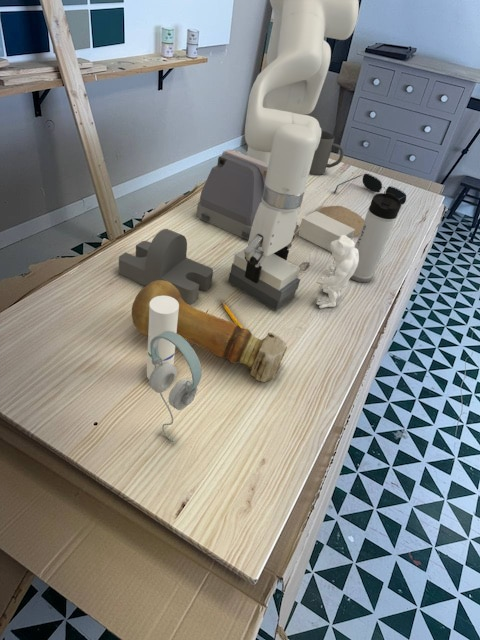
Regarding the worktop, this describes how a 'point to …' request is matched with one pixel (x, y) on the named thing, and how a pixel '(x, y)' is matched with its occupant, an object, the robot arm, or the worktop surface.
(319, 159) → the mug
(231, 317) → the pencil
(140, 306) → the stamp
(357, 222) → the clay tablet
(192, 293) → the bracket
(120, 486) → the worktop surface
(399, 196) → the sunglasses
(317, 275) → the worktop surface
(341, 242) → the figurine
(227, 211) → the instant camera
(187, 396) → the headphones
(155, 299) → the tube
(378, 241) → the travel mug
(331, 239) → the off-white rectangular block
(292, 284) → the grey stack
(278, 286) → the white box
